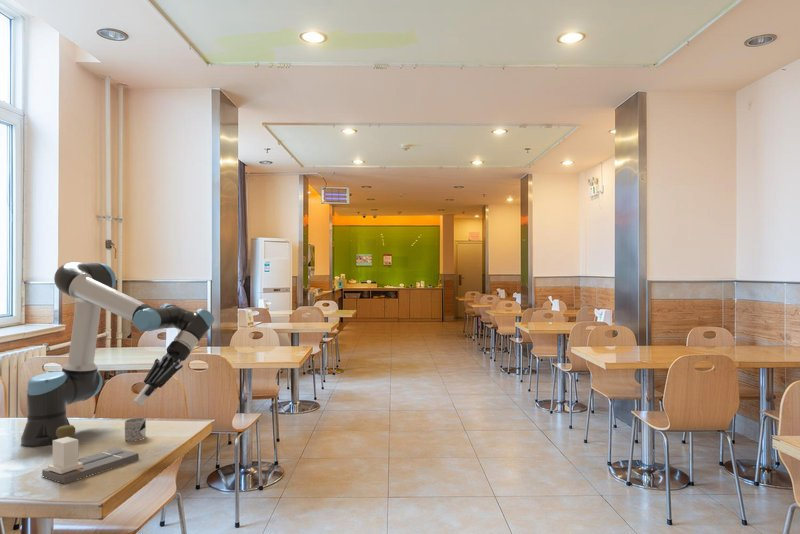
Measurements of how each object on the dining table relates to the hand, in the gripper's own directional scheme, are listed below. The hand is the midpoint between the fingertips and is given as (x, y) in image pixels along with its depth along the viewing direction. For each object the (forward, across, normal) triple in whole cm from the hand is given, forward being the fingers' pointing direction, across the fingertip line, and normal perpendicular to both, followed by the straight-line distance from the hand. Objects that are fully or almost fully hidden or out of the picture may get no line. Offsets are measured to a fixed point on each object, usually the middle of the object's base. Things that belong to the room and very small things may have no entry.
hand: (137, 403), depth 169 cm
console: (+22, 0, -1) cm, 22 cm away
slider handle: (+26, 0, +6) cm, 26 cm away
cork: (+23, +14, -1) cm, 27 cm away
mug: (+4, +18, -19) cm, 27 cm away
